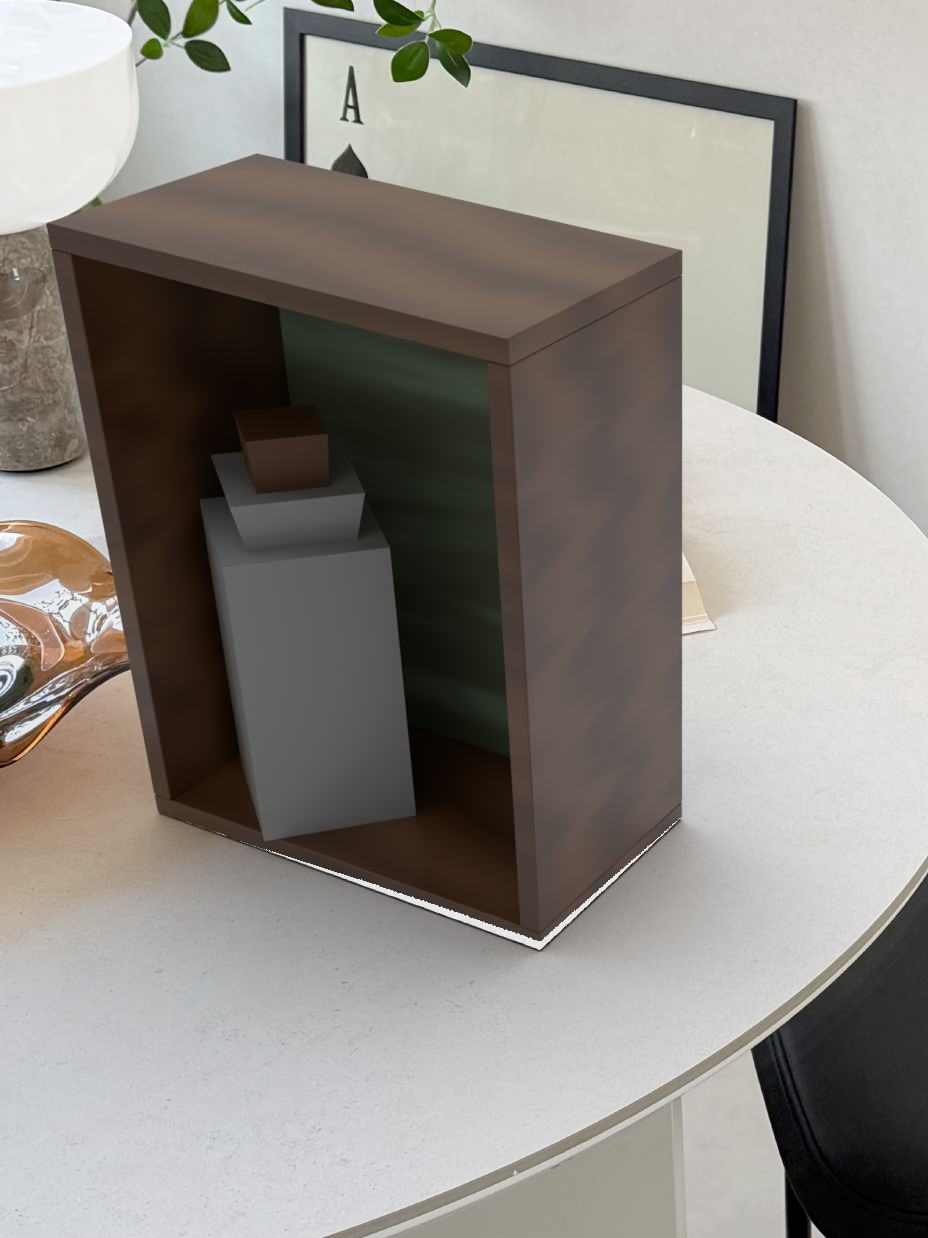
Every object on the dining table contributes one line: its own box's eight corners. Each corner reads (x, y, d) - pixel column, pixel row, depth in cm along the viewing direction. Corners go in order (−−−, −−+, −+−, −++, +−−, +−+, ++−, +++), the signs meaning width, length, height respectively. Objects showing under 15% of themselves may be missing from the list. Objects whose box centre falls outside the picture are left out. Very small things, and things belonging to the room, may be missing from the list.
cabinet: (540, 952, 84) (507, 338, 68) (157, 812, 90) (45, 222, 75) (682, 818, 93) (683, 249, 77) (324, 700, 99) (256, 152, 83)
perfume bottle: (416, 815, 90) (379, 446, 79) (264, 841, 87) (206, 463, 77) (385, 741, 95) (347, 384, 84) (241, 764, 92) (183, 399, 82)
